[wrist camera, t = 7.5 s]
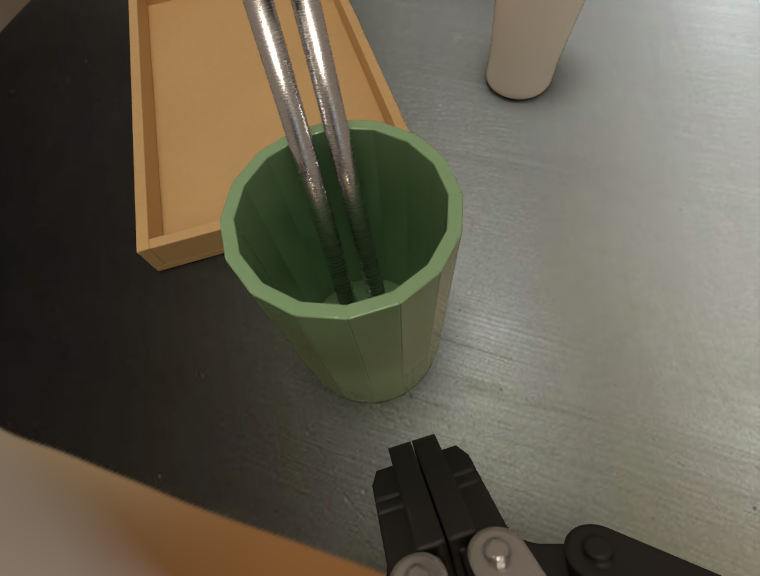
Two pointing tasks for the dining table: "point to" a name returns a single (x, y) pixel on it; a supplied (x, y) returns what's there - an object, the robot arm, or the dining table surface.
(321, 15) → the tongs
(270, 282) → the green cup
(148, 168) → the tray
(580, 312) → the dining table surface
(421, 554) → the robot arm
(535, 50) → the drinking glass
